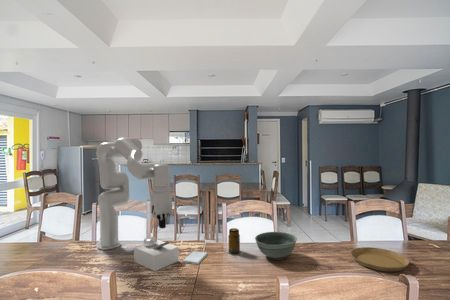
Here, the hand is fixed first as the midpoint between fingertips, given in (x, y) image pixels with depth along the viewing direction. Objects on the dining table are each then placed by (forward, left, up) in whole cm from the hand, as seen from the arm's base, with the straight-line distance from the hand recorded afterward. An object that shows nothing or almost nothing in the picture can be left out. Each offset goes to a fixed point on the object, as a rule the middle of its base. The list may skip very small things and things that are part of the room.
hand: (162, 227), depth 126 cm
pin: (-10, 0, -17) cm, 19 cm away
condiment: (+19, +33, -18) cm, 42 cm away
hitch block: (-5, 0, -18) cm, 18 cm away
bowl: (+39, +41, -18) cm, 59 cm away
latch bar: (-1, 0, -9) cm, 9 cm away
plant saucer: (+81, +65, -18) cm, 105 cm away
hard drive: (+8, +14, -18) cm, 25 cm away
